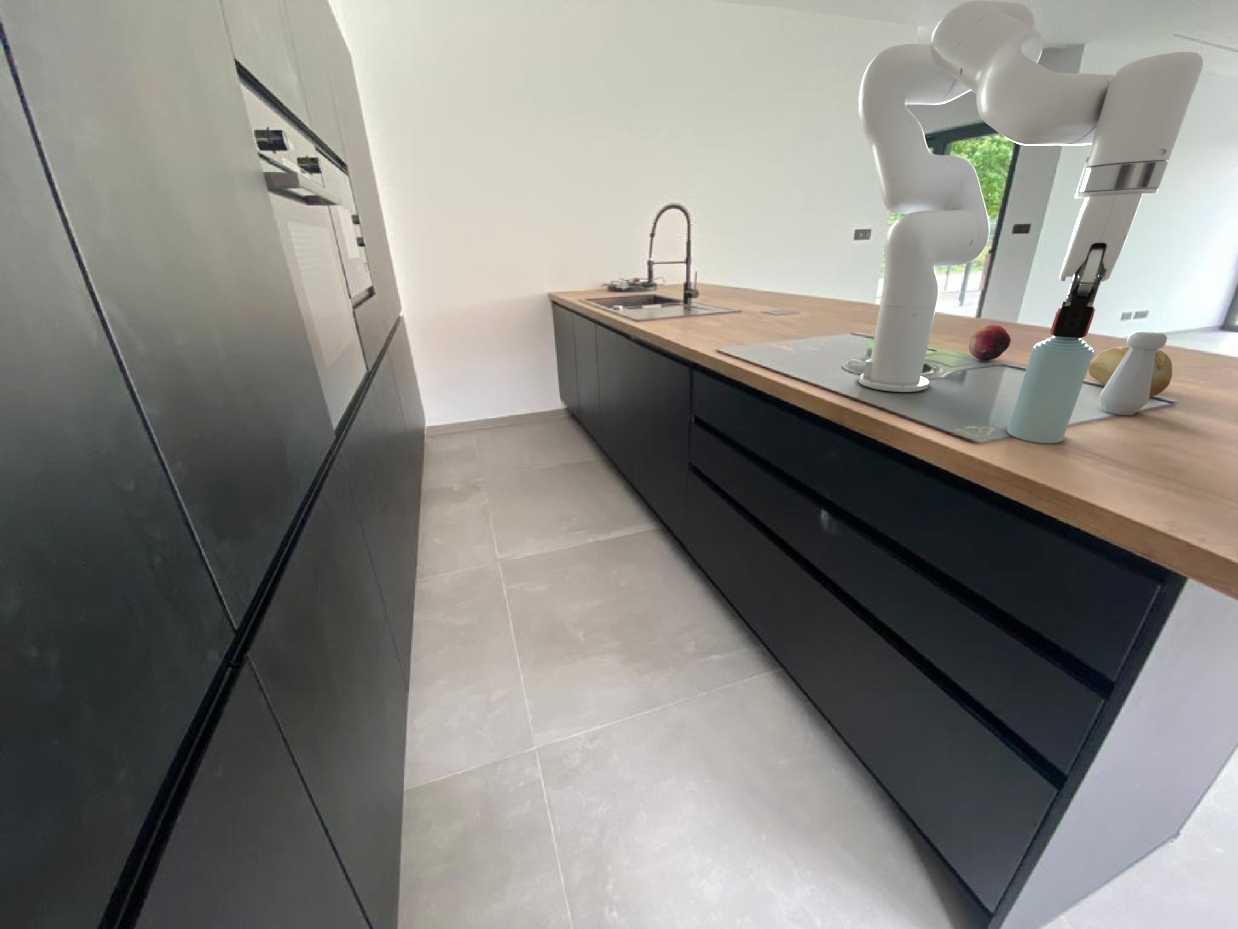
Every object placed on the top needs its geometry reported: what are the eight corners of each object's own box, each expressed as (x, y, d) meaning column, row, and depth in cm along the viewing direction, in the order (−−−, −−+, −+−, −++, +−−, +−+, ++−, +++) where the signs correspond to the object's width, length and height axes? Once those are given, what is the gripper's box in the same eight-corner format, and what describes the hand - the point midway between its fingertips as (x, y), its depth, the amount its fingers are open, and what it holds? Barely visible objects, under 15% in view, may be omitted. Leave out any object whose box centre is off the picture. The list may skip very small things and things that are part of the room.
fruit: (985, 355, 121) (994, 321, 118) (1013, 362, 114) (1023, 326, 111) (956, 357, 120) (965, 323, 116) (983, 365, 113) (993, 329, 110)
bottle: (1012, 440, 74) (1052, 314, 66) (1003, 425, 79) (1038, 307, 72) (1068, 446, 71) (1116, 316, 64) (1055, 430, 77) (1097, 309, 69)
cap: (1054, 336, 68) (1063, 309, 67) (1046, 332, 71) (1055, 305, 70) (1090, 338, 67) (1100, 310, 65) (1080, 333, 70) (1089, 306, 68)
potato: (1126, 379, 99) (1142, 339, 96) (1182, 402, 86) (1203, 356, 83) (1069, 378, 101) (1083, 338, 98) (1115, 400, 88) (1133, 355, 85)
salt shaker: (1151, 417, 80) (1187, 335, 75) (1109, 416, 81) (1142, 335, 76) (1126, 406, 85) (1157, 328, 80) (1087, 405, 86) (1115, 328, 81)
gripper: (1078, 188, 69) (1037, 323, 77) (1077, 182, 58) (1029, 342, 66) (1154, 183, 65) (1102, 327, 73) (1169, 175, 53) (1106, 348, 61)
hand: (1068, 332), depth 69 cm, fingers closed on cap, 3 cm apart
